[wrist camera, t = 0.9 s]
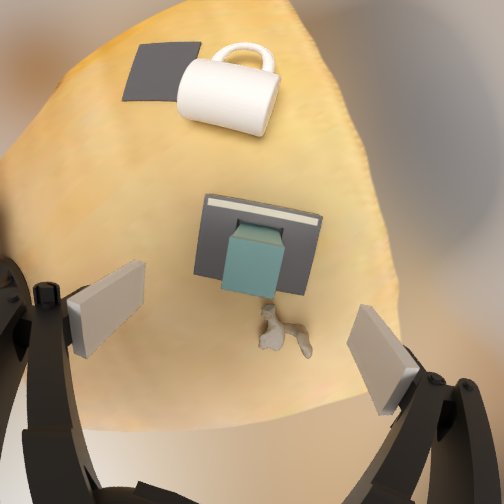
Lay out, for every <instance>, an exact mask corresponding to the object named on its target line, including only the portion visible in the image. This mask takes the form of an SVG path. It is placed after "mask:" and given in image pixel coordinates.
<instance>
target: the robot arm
mask: <svg viewBox="0 0 504 504" xmlns="http://www.w3.org/2000/svg"><path fill="white" fill-rule="evenodd" d="M144 278H145V262H141V261H137V260H133V261H132V262H130V263H128V264H126V265H125V266H123V267H121V268H119V269H117V270H116V271H114V272H112V273H110V274H109V275H107V276H105V277H104V278H102V279H100V280H98V281H97V282H95V283H93V284H92V285H87V286H83V287H81V288H79V289H78V290H76V291H74V292H73V293H71V294H69V295H67V296H66V297H64V298H62V299H61V298H60V287H59V285H58V284H56V283H53V282H41V283H38V284H36V285H34V287H33V294H34V301H35V306H32V305H31V299H30V294H29V290H28V287H27V284H26V281H25V279H24V277H23V275H22V273H21V271H20V269H19V268H18V266H17V265H16V264H15V262H14V261H12V260H11V259H10V258H8V257H1V258H0V458H1V452H2V447H3V442H4V437H5V433H6V428H7V424H8V420H9V416H10V413H11V409H12V406H13V402H14V399H15V396H16V393H17V390H18V387H19V384H20V381H21V378H22V376H23V373H24V370H25V367H26V365H27V362H28V367H27V417H28V418H27V419H28V429H24V430H23V431H22V445H23V454H24V461H25V468H26V474H27V479H28V484H29V489H30V493H31V497H32V502H33V504H199V503H196V502H194V501H192V500H190V499H188V498H185V497H183V496H181V495H179V494H177V493H175V492H171V491H168V490H164V489H161V488H158V487H155V486H152V485H149V484H146V483H143V482H141V481H138V483H137V486H136V488H131V487H106V488H102V487H101V485H100V482H99V480H98V478H97V476H96V473H95V471H94V468H93V465H92V462H91V459H90V456H89V453H88V450H87V446H86V443H85V439H84V436H83V432H82V428H81V424H80V420H79V415H78V411H77V406H76V401H75V395H74V390H73V384H72V377H71V370H70V362H69V353H68V348H67V347H68V346H69V345H70V344H71V343H72V345H73V350H74V354H77V355H79V356H81V357H83V358H85V359H87V358H88V357H89V356H90V355H91V354H92V353H93V352H94V351H95V350H96V349H97V348H98V347H99V346H100V345H101V344H102V343H103V342H104V341H105V340H106V339H107V338H108V337H109V336H110V335H111V334H112V333H113V332H114V331H115V330H116V329H117V328H118V327H120V326H121V325H122V324H123V323H124V322H125V321H126V320H127V319H128V318H129V317H130V316H131V315H132V314H133V313H134V312H135V311H136V310H137V309H138V308H139V307H140V306H141V305H142V304H143V299H144ZM347 345H348V347H349V349H350V351H351V353H352V356H353V358H354V360H355V362H356V364H357V367H358V369H359V371H360V373H361V375H362V378H363V380H364V382H365V384H366V387H367V389H368V391H369V394H370V396H371V398H372V401H373V403H374V405H375V407H376V410H377V412H378V415H392V414H393V413H394V411H395V410H396V408H397V406H398V405H399V407H400V408H401V412H400V414H399V415H398V417H397V418H396V420H395V421H394V422H393V424H392V425H391V427H390V428H391V430H390V432H389V434H388V435H387V437H386V439H385V441H384V443H383V444H382V446H381V448H380V449H379V451H378V453H377V454H376V456H375V457H374V459H373V461H372V462H371V464H370V465H369V467H368V468H367V470H366V471H365V473H364V474H363V476H362V477H361V479H360V480H359V481H358V483H357V484H356V486H355V487H354V488H353V490H352V491H351V492H350V494H349V495H348V496H347V497H346V499H345V500H344V501H343V503H342V504H415V502H414V501H412V500H410V499H411V496H412V494H413V492H414V490H415V487H416V485H417V483H418V480H419V478H420V476H421V473H422V470H423V468H424V465H425V462H426V460H427V457H428V454H429V451H430V448H431V471H430V482H429V492H428V500H427V504H501V489H500V479H499V471H498V464H497V458H496V452H495V447H494V443H493V438H492V434H491V429H490V425H489V421H488V418H487V414H486V411H485V407H484V404H483V401H482V397H481V395H480V391H479V389H478V386H477V385H476V384H475V383H474V382H473V381H472V380H470V379H466V378H461V379H459V381H458V382H457V384H456V386H449V385H446V381H445V380H444V378H442V376H440V375H438V374H437V373H434V372H426V370H425V369H424V367H423V366H422V365H421V363H420V362H419V361H417V358H416V357H415V356H414V354H413V353H412V352H411V351H410V349H408V348H407V347H405V346H404V345H402V344H401V342H400V341H399V340H398V338H397V337H396V336H395V335H394V333H393V332H392V331H391V330H390V328H389V327H388V326H387V325H386V323H385V322H384V321H383V320H382V318H381V317H380V316H379V315H378V313H377V312H376V311H375V310H374V309H373V307H372V306H368V305H360V308H359V311H358V314H357V317H356V319H355V322H354V325H353V328H352V331H351V333H350V336H349V339H348V341H347Z"/></svg>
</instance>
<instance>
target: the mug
mask: <svg viewBox="0 0 504 504" xmlns="http://www.w3.org/2000/svg"><path fill="white" fill-rule="evenodd" d="M238 50H248V51H254V52H257V53H259V54H260V55H261V56H262V59H263V65H262V70H260V69H255V68H251V67H247V66H242V65H237V64H232V63H226V62H223V61H224V60H225V58H226V57H227V56H228V55H229V54H230V53H232V52H234V51H238ZM274 70H275V60H274V57H273V55H272V53H271V52H270V51H269V50H268V49H266V48H265V47H263V46H261V45H259V44H255V43H248V42H243V43H236V44H231V45H228V46H226V47H224V48H222V49H220V50H219V51H218V52H217V53H216V54H215V55H214V56H213V57H212V59H211V60H208V59H201V58H198V59H195V60H194V61H192V62H191V63H190V64H189V66H188V67H187V68H186V70H185V72H184V74H183V76H182V79H181V82H180V85H179V89H178V95H177V108H178V112H179V114H180V116H181V117H182V118H185V119H190V120H194V121H199V122H204V123H208V124H212V125H217V126H221V127H225V128H229V129H233V130H237V131H241V132H244V133H248V134H251V135H255V136H258V137H261V136H263V134H264V132H265V130H266V128H267V125H268V122H269V119H270V117H271V114H272V111H273V107H274V104H275V101H276V98H277V94H278V90H279V86H280V81H281V76H280V75H279V74H275V73H274Z"/></svg>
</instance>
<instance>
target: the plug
mask: <svg viewBox="0 0 504 504" xmlns="http://www.w3.org/2000/svg"><path fill="white" fill-rule="evenodd" d="M284 249H285V247H284V245H283V243H282V240H281V237H280V233H279V230H278V228H273V227H268V226H263V225H258V224H253V223H247V222H242V223H241V224H240V226H239V227H238V228H237V230H236V231H235V232H234V233H233V235H231V236H230V238H229V244H228V250H227V256H226V262H225V268H224V274H223V280H222V286H221V289H224V290H229V291H234V292H239V293H244V294H249V295H255V296H260V297H265V298H271V299H274V294H275V290H276V285H277V281H278V277H279V272H280V268H281V263H282V259H283V254H284Z"/></svg>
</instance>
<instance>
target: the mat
mask: <svg viewBox="0 0 504 504" xmlns="http://www.w3.org/2000/svg"><path fill="white" fill-rule="evenodd" d="M200 46H201V42H166V43H151V44H141V45H139V48H138V51H137V53H136V56H135V59H134V62H133V65H132V68H131V71H130V74H129V77H128V80H127V84H126V87H125V90H124V94H123V97H122V101H177V95H178V89H179V85H180V82H181V79H182V76H183V74H184V72H185V70H186V68H187V67H188V66H189V64H190V63H191V62H192V61H194V60H195V59H197V56H198V52H199V49H200Z"/></svg>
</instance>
